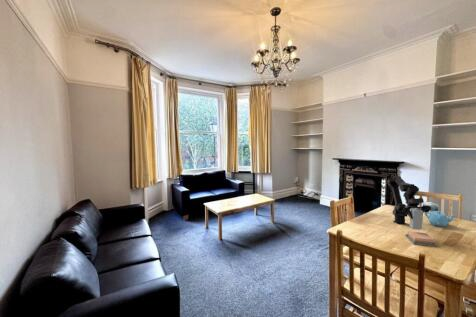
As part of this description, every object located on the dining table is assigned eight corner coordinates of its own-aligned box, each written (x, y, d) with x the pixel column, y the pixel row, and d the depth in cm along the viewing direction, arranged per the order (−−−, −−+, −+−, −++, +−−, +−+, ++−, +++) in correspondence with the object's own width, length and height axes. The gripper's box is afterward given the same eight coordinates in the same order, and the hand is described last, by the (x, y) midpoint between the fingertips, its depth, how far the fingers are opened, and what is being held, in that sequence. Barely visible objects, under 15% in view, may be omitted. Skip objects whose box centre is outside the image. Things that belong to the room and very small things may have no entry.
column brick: (409, 225, 149) (410, 207, 148) (418, 226, 147) (419, 207, 146) (412, 228, 144) (414, 209, 143) (421, 229, 143) (423, 209, 141)
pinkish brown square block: (405, 236, 148) (405, 230, 148) (426, 238, 144) (426, 232, 144) (413, 244, 137) (413, 238, 136) (436, 246, 133) (436, 240, 133)
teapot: (423, 222, 172) (423, 209, 171) (440, 221, 172) (440, 208, 171) (438, 229, 159) (438, 215, 158) (456, 227, 159) (456, 213, 158)
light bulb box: (439, 217, 180) (439, 205, 180) (429, 217, 182) (430, 205, 181) (430, 213, 191) (430, 201, 190) (421, 213, 192) (422, 201, 191)
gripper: (398, 192, 151) (404, 212, 141) (430, 194, 145) (439, 215, 135) (393, 200, 159) (399, 219, 149) (424, 202, 153) (432, 222, 143)
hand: (417, 219), depth 144 cm, fingers closed on column brick, 5 cm apart
